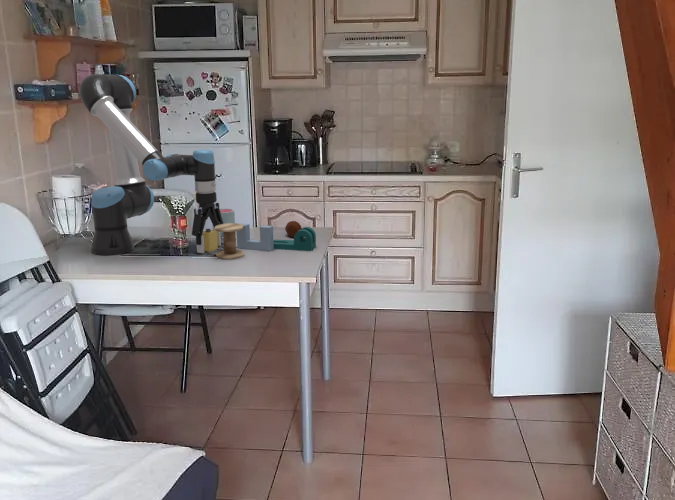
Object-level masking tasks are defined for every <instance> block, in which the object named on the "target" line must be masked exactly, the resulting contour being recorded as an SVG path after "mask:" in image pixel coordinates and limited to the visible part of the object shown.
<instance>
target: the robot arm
mask: <svg viewBox="0 0 675 500" xmlns="http://www.w3.org/2000/svg"><path fill="white" fill-rule="evenodd" d="M78 94H79V97H80V98H79V99H80V101H81V103H82V104H83V106H84V107H85V108H86V110H87V111H88V112H89V113H90V115H92V116H93V117H97V118H98V119H99V120H100V121H101V122H102V123H103V124H104V125H105V127H107V129H108V130H107V131H108V133H109V141H110V146H111V151H112V155H113V156H112V157H113V162H114V169H115V174H116V178H117V179H116V181H115V183H114V185H113V186H107V187H101V188H98V189H96V190H94V191H93V192H92V194H91V202H90V203H91V205H90V206H91V208H92V217H93V225H94V234H93V238H92V244H91V253H92V254H95V255H99V256H113V255H120V254H121V255H122V254H125V253H126V254H127V253H129V252H132V251H133V250H134V249H135V245H134V244H135V243H134V241H133V240H132V236H131V235H130V232H129V229H128V219H131V218H134V217H137V216H138V217H139V216H143V215H144V214H146V213H148V212H150V211H151V209H152V207H154V202H155V195H154V192H153V190H152V188H150V186H148V185H147V184H146V180H145V179H144V178H143V177H142V176H141V173H140V168H139V167H140V166H139V163H140V164H141V165H142V173H143V175H144V177H145V178H146V179H147V180H149V181H152V182H156V181H163V180H166V179H169V178H174V177H179V176H194V191H195V192H196V193H195V202H196V203H197V204H198V208H196V207H194V208H193V222H192V229H191V235H192V236H193V237H195V242H196V253H198V254H205V252H206V251H204V236H202V233H203V231H204V229H205V225H206V221H207V220H208V218H209V220H210V221H211V223H212V224H213V226H214V228H215V226H216V225H219V224H223V220H222V216H221V213H220V209H221V208H220V202H217V200H218V199H217V192H216V190H217V187H216V186H217V184H216V166H215V164H216V161H215V156H214V155H215V154H214V151H213V150H211V149H194V150H193V152H192V154H179V153H174V154H167V155H166V156H163V154H161V152H160V151H159V150H158V149H157V148H156V147H155V146H154V145H153V144H152V143H151V142H150V140H149V139H148V138H147V137H146V136H145V135H144V134H143V133H142V131H140V130H139V128H137V126H136V125H135V124H134V123H133V122H132V121H131V116H130V115H131V113H132V111H133V110H134V109H133V103H134V102H135V99H136V97H137V89H136V87H135V85H134V83H133V81H132V80H131V79H129V78H128V77H126V75H125V76H124V75H121V74H116V73H113V74H110V73H109V74H108V73H106V74H100V73H95V74H93V73H92V74H89V75H87V76H85V77H84V78H83V79H82V81H81V82H80V84H79V88H78ZM219 222H220V223H219ZM213 226H212V227H213ZM212 230H215V229H213V228H212ZM217 245H218V247H221V246H222V240H221V234H220V232H219V231H217Z"/></svg>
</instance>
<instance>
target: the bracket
mask: <svg viewBox="0 0 675 500" xmlns="http://www.w3.org/2000/svg"><path fill="white" fill-rule="evenodd" d="M301 228H302V229H301V230H299V231H298V232H297V233H296V234H295V235H294V237H293V239H273V241H274V249H273V250H286V251H287V250H288V251H304V252H305V251H306V252H313V250H314V249H315V248H316V247H317V239H316V238H317V237H316V236H317V234H316V232H315V230H314V229H313V228H311V227H310V226H304V227H301Z"/></svg>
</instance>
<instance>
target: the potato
mask: <svg viewBox="0 0 675 500" xmlns="http://www.w3.org/2000/svg"><path fill="white" fill-rule="evenodd" d="M302 228H303V227H302V226H301V224H300V223H299V222H298V221H296V220H291V221H288V222H287V223H286V225H285V227H284V230H285V233H286V234H287V235H288V236H289V237H290V238H294V235H295V234H296V233H297V232H298V231H299V230H301V229H302Z"/></svg>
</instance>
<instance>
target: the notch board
mask: <svg viewBox="0 0 675 500" xmlns="http://www.w3.org/2000/svg"><path fill="white" fill-rule="evenodd" d="M240 224H241V225H243V229H242V230H240V231H236V249H241V250H242V249H243V250H244V249H245V250H255V251H265V252H266V251H267V252H271V251H273V250H275V249H274V241H273V240H274V225H265V224H264V225H261V226H259V238H260V240H258V239H251V231H250V230H251V229H250V223H249V224H248V223H240Z"/></svg>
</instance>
